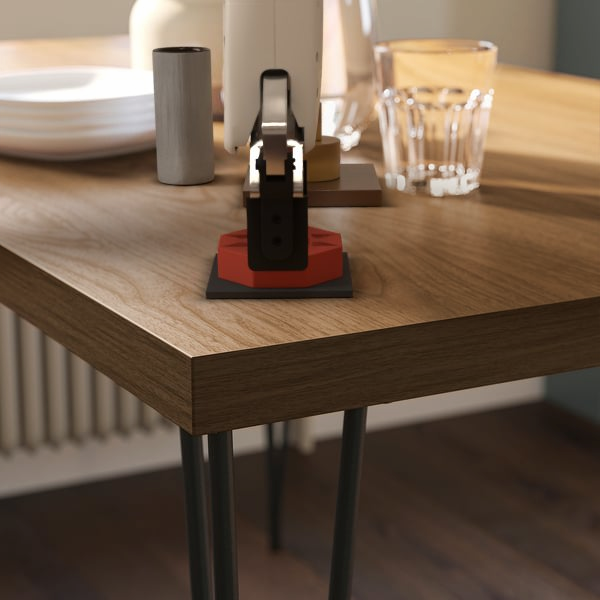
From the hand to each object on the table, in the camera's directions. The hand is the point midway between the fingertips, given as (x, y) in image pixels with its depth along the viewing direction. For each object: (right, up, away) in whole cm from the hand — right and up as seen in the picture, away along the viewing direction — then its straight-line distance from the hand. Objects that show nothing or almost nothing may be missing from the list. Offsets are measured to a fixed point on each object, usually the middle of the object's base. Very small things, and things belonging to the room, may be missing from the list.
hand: (279, 245), depth 67 cm
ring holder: (+2, +5, +22) cm, 23 cm away
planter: (-8, +6, +27) cm, 29 cm away
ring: (0, -1, 0) cm, 2 cm away
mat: (0, -2, +1) cm, 2 cm away
